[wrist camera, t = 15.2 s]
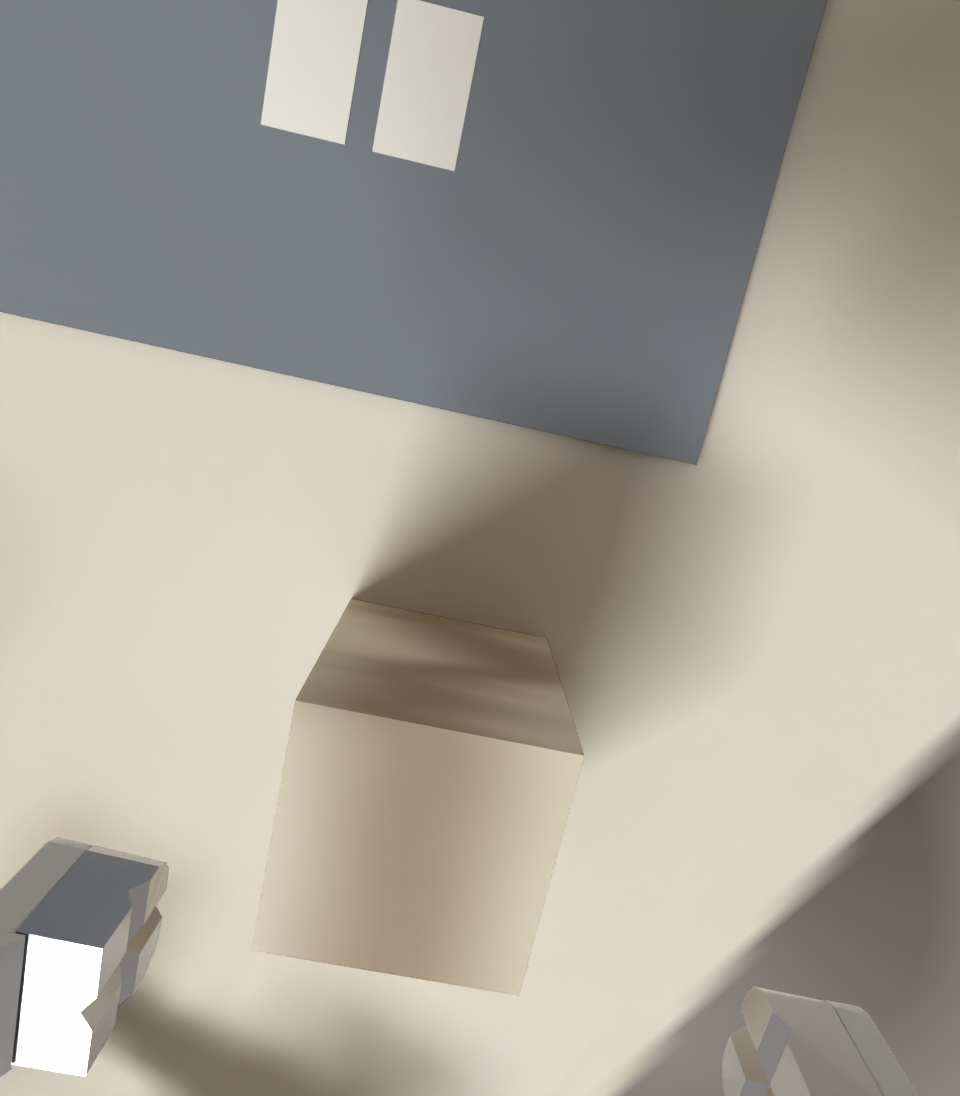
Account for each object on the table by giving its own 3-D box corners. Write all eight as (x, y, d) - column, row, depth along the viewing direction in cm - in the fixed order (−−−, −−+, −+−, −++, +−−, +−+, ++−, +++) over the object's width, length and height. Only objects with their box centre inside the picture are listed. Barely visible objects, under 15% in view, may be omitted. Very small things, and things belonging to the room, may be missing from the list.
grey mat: (870, -167, 14) (876, -175, 14) (693, 463, 17) (696, 464, 17) (-43, -426, 13) (-51, -439, 13) (-78, 294, 16) (-85, 293, 16)
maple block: (546, 637, 18) (584, 755, 12) (503, 810, 19) (519, 995, 13) (351, 598, 18) (295, 700, 12) (318, 776, 19) (251, 950, 13)
